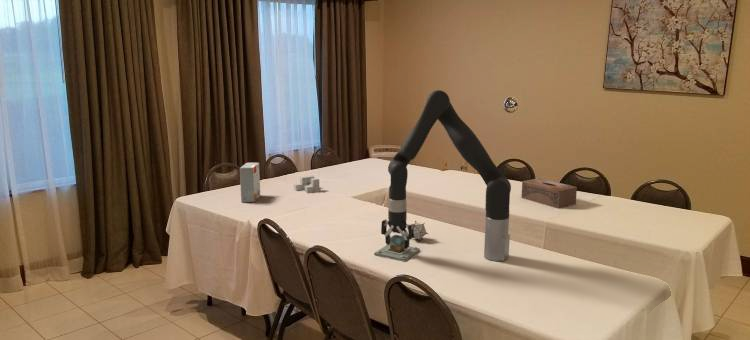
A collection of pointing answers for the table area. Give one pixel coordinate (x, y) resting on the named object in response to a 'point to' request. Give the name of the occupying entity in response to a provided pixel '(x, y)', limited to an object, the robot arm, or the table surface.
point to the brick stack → (397, 243)
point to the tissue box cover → (549, 193)
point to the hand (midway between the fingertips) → (397, 246)
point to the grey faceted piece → (419, 230)
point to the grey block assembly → (308, 184)
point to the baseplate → (397, 256)
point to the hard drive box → (250, 182)
